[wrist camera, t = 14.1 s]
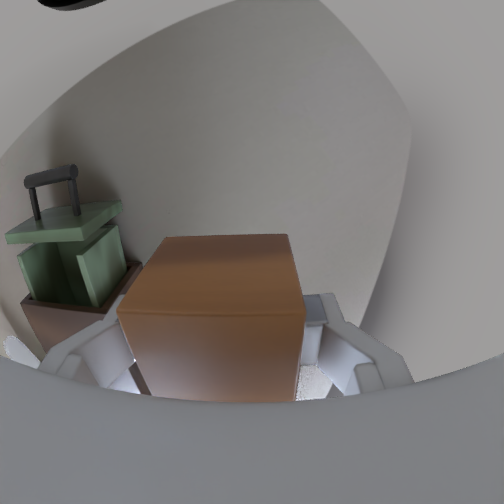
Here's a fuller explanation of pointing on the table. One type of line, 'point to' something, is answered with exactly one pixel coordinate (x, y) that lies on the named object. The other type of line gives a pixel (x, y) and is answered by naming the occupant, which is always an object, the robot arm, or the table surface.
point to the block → (218, 319)
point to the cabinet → (82, 326)
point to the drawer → (69, 246)
